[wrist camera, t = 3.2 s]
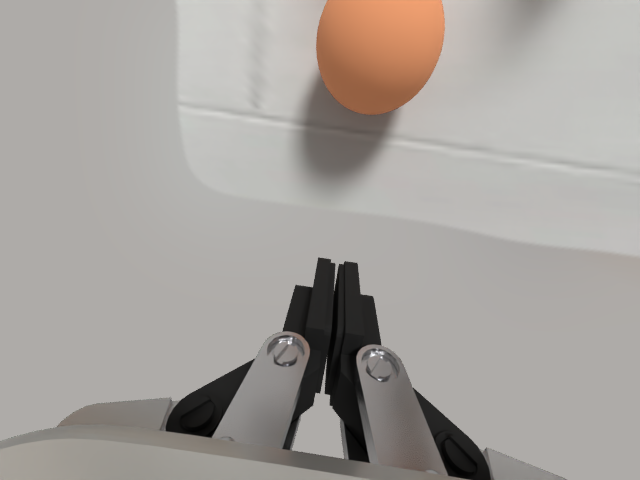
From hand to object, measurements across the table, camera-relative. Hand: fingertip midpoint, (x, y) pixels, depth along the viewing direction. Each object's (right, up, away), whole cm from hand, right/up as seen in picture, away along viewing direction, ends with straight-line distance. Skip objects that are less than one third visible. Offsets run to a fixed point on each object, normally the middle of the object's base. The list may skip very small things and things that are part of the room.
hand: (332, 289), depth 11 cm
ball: (+2, +12, +2) cm, 12 cm away
